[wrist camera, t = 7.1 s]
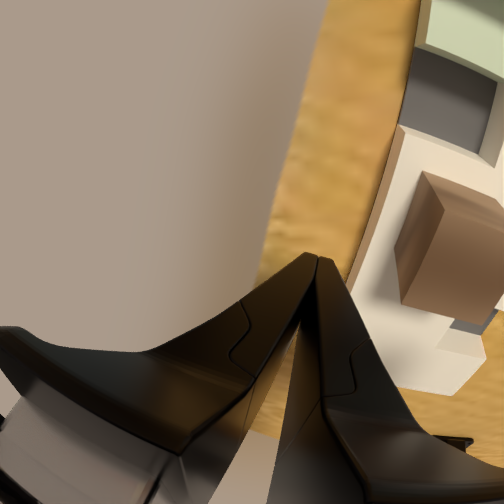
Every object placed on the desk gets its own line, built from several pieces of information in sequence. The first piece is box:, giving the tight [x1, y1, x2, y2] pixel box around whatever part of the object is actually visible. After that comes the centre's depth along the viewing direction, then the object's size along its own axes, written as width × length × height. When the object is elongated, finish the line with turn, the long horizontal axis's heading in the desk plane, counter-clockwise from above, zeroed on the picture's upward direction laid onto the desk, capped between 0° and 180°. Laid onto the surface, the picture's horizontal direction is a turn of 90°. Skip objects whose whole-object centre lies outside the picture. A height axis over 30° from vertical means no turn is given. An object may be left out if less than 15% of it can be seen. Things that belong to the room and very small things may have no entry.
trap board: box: [345, 0, 504, 396], centre depth 12 cm, size 24×11×4 cm, turn 173°
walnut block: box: [394, 170, 504, 326], centre depth 11 cm, size 4×4×4 cm
